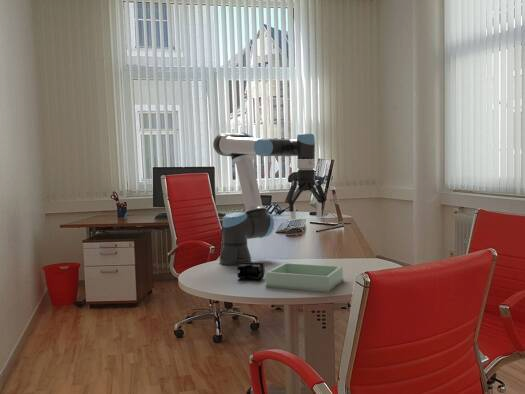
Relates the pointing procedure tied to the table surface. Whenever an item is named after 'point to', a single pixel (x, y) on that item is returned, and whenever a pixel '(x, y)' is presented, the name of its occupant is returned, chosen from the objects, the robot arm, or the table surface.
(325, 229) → the table surface
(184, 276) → the table surface
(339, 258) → the table surface
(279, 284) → the walled box
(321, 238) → the table surface
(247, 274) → the end cap
